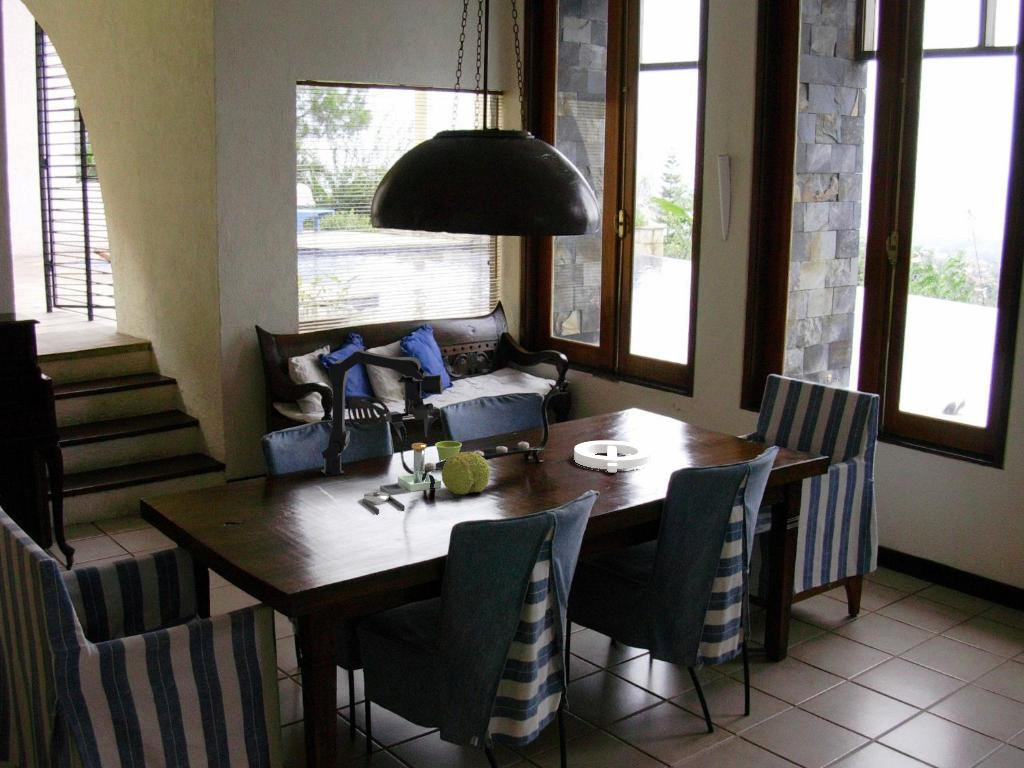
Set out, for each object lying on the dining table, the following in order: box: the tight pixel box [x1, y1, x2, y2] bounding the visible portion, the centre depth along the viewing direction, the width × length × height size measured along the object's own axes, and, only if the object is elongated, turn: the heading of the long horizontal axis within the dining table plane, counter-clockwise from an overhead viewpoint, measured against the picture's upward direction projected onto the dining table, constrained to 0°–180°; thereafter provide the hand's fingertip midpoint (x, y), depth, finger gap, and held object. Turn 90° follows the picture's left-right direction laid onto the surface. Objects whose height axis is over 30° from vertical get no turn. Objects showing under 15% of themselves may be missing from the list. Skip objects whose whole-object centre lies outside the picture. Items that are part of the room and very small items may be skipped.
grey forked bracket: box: [362, 491, 406, 516], centre depth 359 cm, size 16×9×3 cm, turn 29°
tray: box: [397, 473, 442, 493], centre depth 380 cm, size 11×11×3 cm
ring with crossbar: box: [573, 440, 651, 473], centre depth 418 cm, size 28×28×5 cm
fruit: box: [441, 451, 491, 495], centre depth 374 cm, size 16×14×15 cm
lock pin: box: [411, 442, 427, 484], centre depth 379 cm, size 5×5×14 cm
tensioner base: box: [375, 483, 411, 497], centre depth 373 cm, size 9×9×2 cm
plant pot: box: [435, 440, 462, 462], centre depth 404 cm, size 9×9×9 cm
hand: (414, 438), depth 389 cm, fingers open, 9 cm apart
